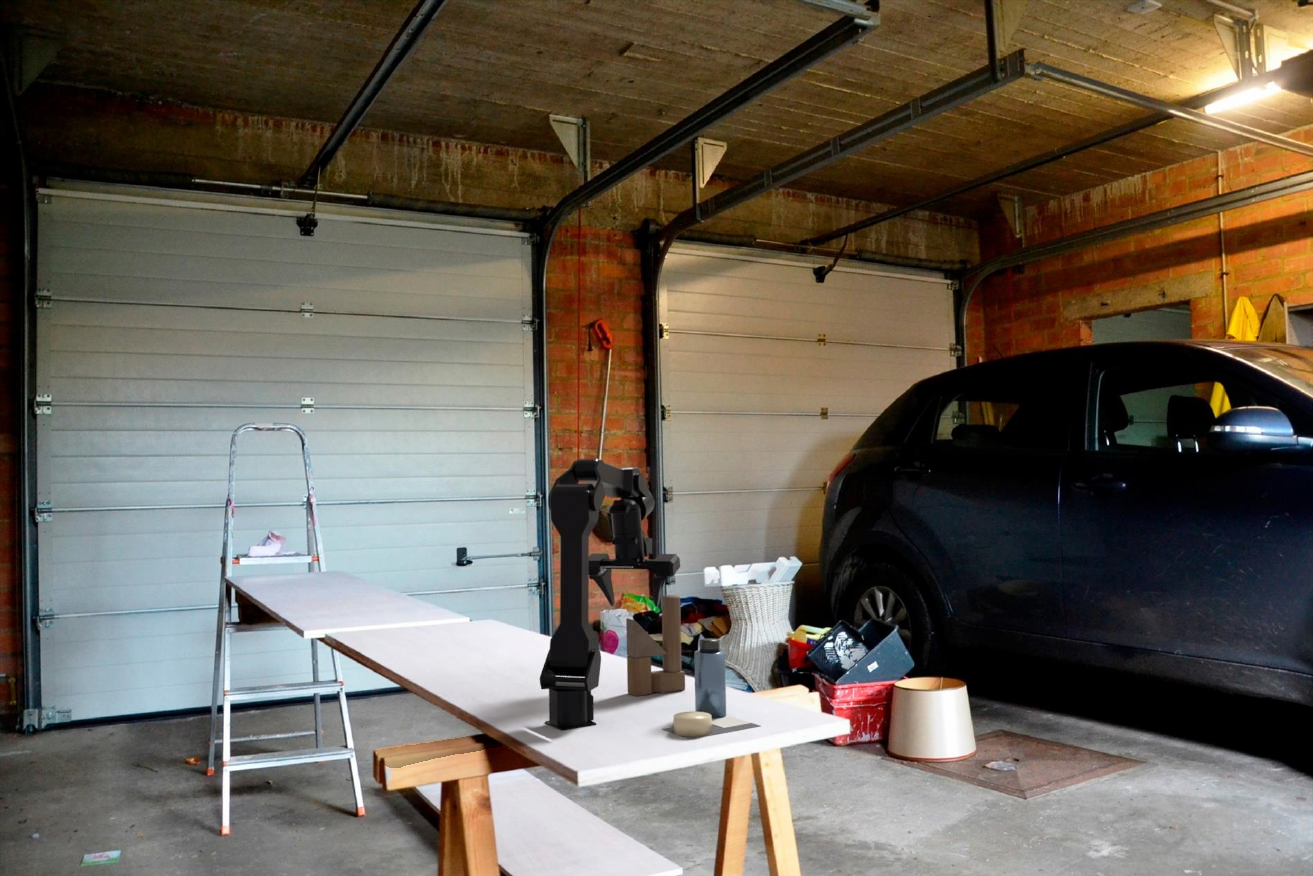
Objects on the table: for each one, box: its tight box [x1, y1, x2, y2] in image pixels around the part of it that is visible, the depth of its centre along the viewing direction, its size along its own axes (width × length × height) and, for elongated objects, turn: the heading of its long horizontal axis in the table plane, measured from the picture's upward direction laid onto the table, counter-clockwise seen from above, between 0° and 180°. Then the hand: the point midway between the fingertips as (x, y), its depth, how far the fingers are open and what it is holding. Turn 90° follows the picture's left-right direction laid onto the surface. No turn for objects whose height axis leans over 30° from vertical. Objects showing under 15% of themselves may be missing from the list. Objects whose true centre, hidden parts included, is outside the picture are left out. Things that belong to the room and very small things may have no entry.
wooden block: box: [625, 594, 686, 697], centre depth 191 cm, size 4×11×18 cm, turn 117°
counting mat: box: [661, 716, 761, 740], centre depth 161 cm, size 14×8×1 cm, turn 123°
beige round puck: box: [673, 711, 713, 737], centre depth 159 cm, size 6×6×2 cm
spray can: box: [693, 637, 727, 720], centre depth 170 cm, size 5×5×13 cm
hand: (634, 605), depth 199 cm, fingers open, 9 cm apart
